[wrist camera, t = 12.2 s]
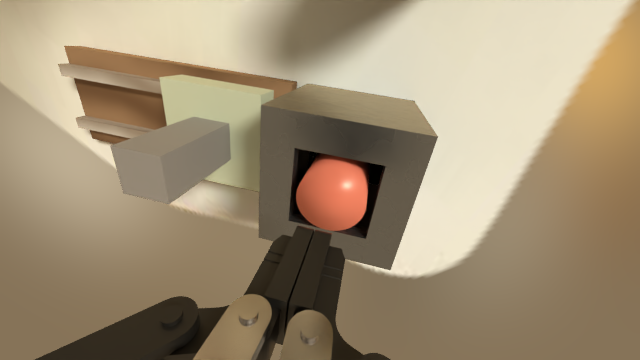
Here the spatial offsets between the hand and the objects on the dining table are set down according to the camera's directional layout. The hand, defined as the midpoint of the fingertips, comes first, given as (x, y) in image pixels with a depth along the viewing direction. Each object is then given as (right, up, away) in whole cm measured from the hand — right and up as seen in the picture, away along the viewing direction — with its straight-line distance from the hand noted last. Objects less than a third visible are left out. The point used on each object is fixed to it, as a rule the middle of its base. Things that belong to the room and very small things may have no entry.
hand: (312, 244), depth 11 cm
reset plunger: (+2, +4, +9) cm, 10 cm away
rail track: (-13, +10, +15) cm, 22 cm away
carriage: (-8, +7, +12) cm, 16 cm away
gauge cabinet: (+3, +6, +13) cm, 14 cm away
